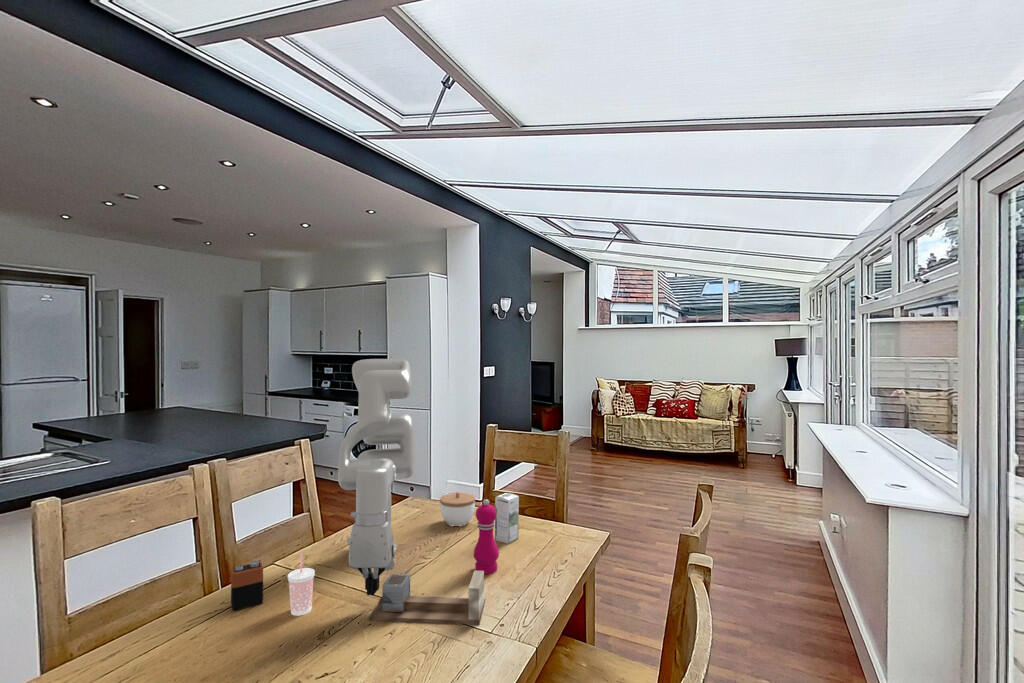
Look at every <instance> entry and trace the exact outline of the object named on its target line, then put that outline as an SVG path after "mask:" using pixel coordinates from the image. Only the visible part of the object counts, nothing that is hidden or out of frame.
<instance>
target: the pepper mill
mask: <svg viewBox="0 0 1024 683" xmlns="http://www.w3.org/2000/svg"><path fill="white" fill-rule="evenodd" d="M496 515H497V512H496V509H495V506H493V505H492V504H490V501H489V499H483V501H482V504H481V505H480V506H477V508H476V512H475V518H476V521H477V529H478V531H479V532H478V540H477V541H476V544H475V547H474V550H473V558H474V560H475V561H476V562H475V563H474V564H475V567H474V568H475V570H474V571H484V575H491V574H494V573H495V572H497V571H498V562H497V560H498V559H499V557H500V556H499V555H500V552H499V547H498V545H497V542H496V540H495V535H494V529H495V518H496Z"/></svg>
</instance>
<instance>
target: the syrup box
mask: <svg viewBox="0 0 1024 683" xmlns="http://www.w3.org/2000/svg"><path fill="white" fill-rule="evenodd" d="M519 502H520V496H519V495H518V494H517V495H516V494H514V493H509V492H505V493H502V494H499V495H497V496H495V499H494V508H495V509H496V512H497V515H496V518H495V520H494V522H495V527H494V539H495V542H496V541H497V542H501V543H504V544H511V543H513V542H514V541H516V540H518V539H519V523H520V520H519V518H520V515H519V512H520V510H519V507H520V503H519Z"/></svg>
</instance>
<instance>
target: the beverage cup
mask: <svg viewBox="0 0 1024 683" xmlns="http://www.w3.org/2000/svg"><path fill="white" fill-rule="evenodd" d="M299 558H300V560H299V561H300V562H299V564H300V566H299V568H296V569H294V570H292V571H290V572H288V574H287V580H288V587H289V589H288V590H289V602H290V606H289V607H290V614H291V615H293V616H296V617H298V616H299V617H300V616H304V615H306V614H309V613H310V612H311V610H312V608H313V607H312V606H313V605H312V604H313V591H314V590H313V588H314V577H315V573H316V570H315V569H313V568H311V567H303V552H299Z"/></svg>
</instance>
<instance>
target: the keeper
mask: <svg viewBox="0 0 1024 683" xmlns="http://www.w3.org/2000/svg"><path fill="white" fill-rule="evenodd" d="M381 587H382V595H381V597H382V611H389V612H403V611H404V610H405V600H406V598H407V597H410V596H411V574H408V573H407V574H405V573H404V574H403V573H401V574H400V573H390V574H389V576H388V577H387V578H386V579H385V581H384V583H383V584H382V586H381Z"/></svg>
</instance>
